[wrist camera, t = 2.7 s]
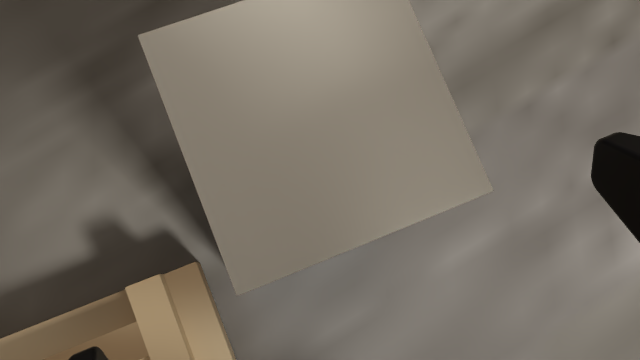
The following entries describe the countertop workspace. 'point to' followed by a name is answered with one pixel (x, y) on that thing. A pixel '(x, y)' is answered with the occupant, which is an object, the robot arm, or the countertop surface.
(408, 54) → the plain gray box
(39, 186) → the countertop surface
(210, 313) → the wooden tray
